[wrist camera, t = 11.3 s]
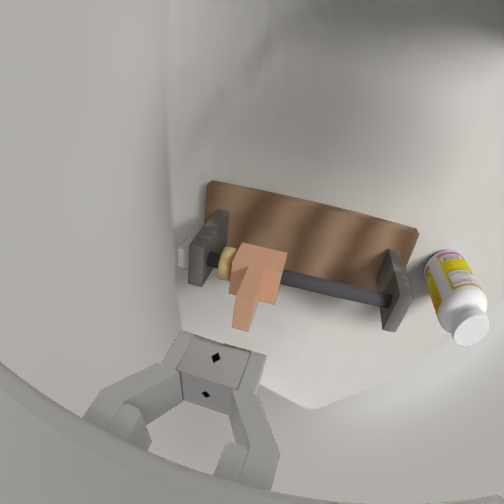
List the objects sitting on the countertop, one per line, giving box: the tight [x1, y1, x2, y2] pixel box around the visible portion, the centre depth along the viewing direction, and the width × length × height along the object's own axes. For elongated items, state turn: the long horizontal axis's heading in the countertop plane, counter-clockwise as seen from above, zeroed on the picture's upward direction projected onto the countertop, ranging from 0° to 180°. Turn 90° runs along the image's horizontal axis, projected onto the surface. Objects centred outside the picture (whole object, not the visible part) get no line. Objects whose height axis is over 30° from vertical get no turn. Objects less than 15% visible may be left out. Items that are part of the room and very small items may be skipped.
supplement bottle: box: [424, 250, 489, 346], centre depth 32 cm, size 7×7×13 cm
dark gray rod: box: [178, 238, 392, 308], centre depth 33 cm, size 24×4×4 cm, turn 82°
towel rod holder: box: [188, 181, 419, 332], centre depth 36 cm, size 27×11×11 cm, turn 82°
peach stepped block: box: [229, 242, 287, 332], centre depth 31 cm, size 5×4×9 cm
